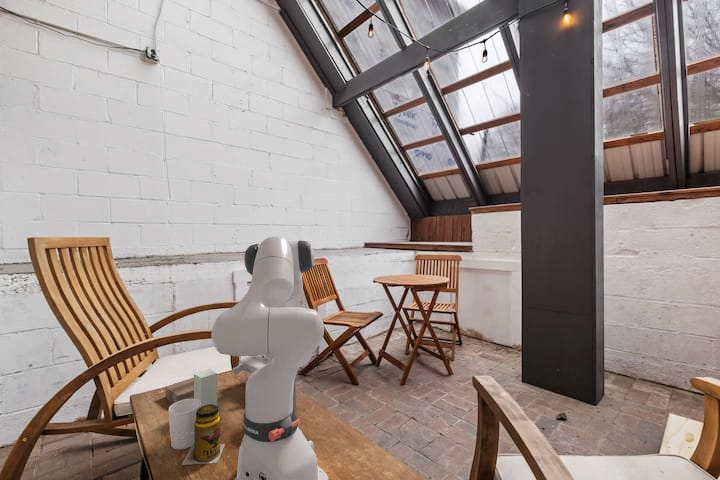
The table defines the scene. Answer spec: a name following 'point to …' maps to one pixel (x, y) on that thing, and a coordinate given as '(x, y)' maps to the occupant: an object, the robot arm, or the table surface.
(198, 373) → the sage block
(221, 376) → the table surface
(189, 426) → the white cup
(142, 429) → the table surface
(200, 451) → the condiment
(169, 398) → the walnut base
